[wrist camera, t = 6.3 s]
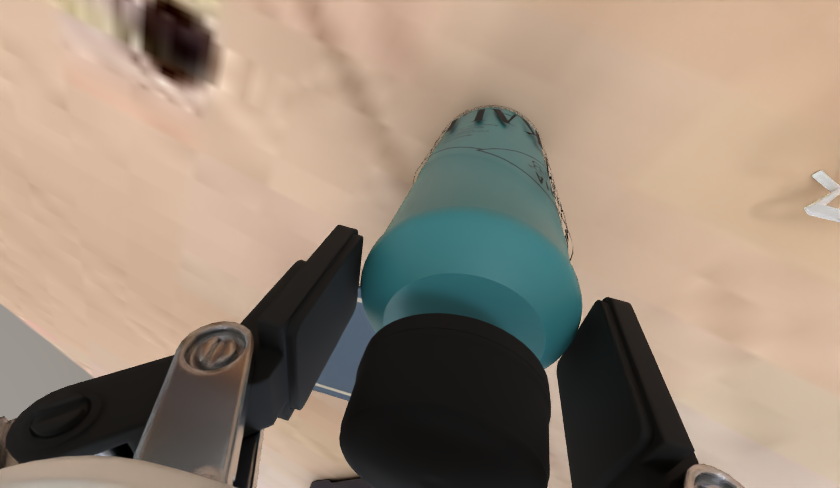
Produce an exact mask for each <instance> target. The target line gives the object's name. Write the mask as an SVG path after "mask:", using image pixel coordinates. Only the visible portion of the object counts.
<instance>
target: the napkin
mask: <svg viewBox="0 0 840 488" xmlns="http://www.w3.org/2000/svg"><path fill="white" fill-rule="evenodd" d="M375 334H376V332H375V331H374V329H373V328H372V326H371V324H370V322H369V320H368V318H367V316H366V314H365V311H364V308H363V304H362V298H361V286H359V288H358V298H357V305H356V309H355V311H354V314H353V316H352V317H351V319H350V321H349V323H348V325H347V327H346V329H345V330H344V332H343V334H342V336H341V338H340V340H339V342H338V343H337V345H336V347H335V349H334V351H333V353H332V355H331V356H330V358H329V360H328V362H327V364H326V366H325V368H324V369H323V371H322V373H321V375H320V377H319V379H318V381H317V382H316V384H315V386H314V388H313V390H315V391H318V392H321V393H325V394H328V395H331V396H334V397H338V398H341V399H344V400H347V401H349V399H350V397H351V394H352V391H353V388H354V385H355V382H356V374H357V369H358V366H359V364H360V361H361V358H362V356H363V354H364V351H365V349H366V347H367V345H368V343H369V341H370V340H371V338H372V337H373V336H374V335H375Z"/></svg>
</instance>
